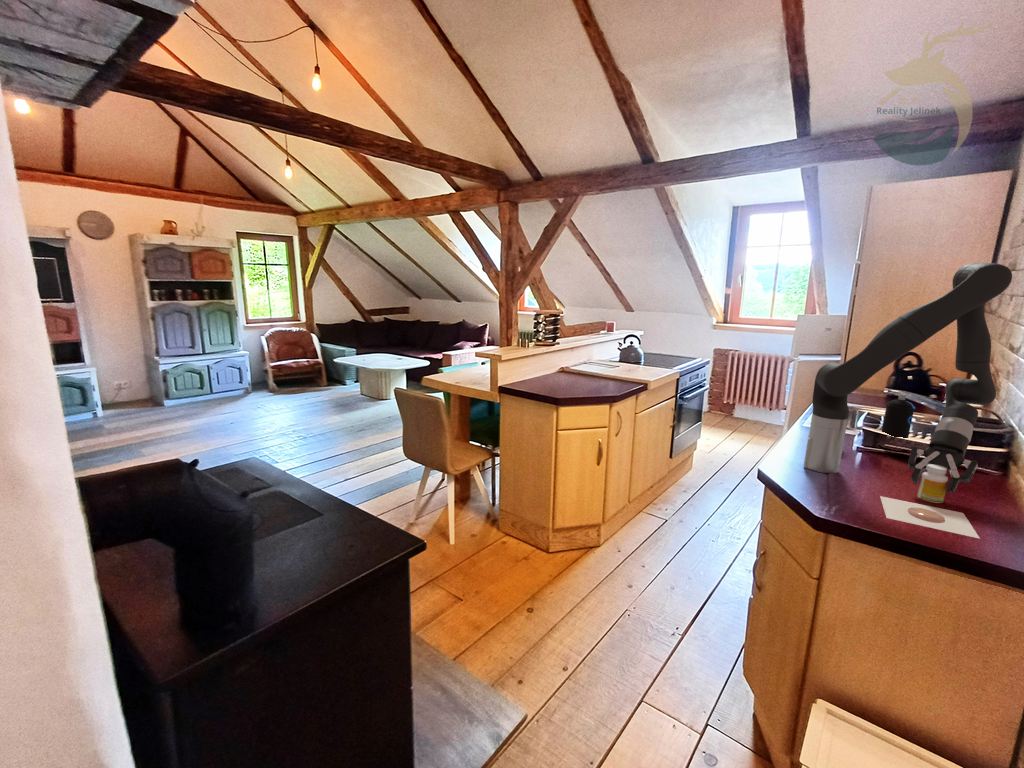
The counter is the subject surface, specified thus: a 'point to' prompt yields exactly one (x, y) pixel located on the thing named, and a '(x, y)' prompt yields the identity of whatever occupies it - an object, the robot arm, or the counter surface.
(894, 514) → the mat
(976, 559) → the counter surface
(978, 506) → the counter surface
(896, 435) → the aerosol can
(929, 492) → the supplement bottle
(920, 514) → the coaster
